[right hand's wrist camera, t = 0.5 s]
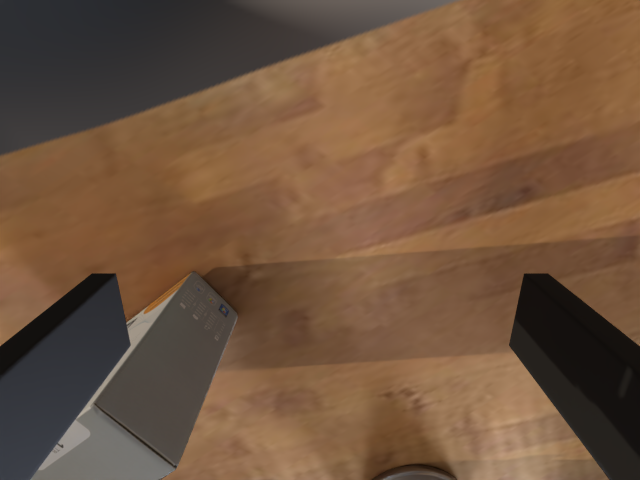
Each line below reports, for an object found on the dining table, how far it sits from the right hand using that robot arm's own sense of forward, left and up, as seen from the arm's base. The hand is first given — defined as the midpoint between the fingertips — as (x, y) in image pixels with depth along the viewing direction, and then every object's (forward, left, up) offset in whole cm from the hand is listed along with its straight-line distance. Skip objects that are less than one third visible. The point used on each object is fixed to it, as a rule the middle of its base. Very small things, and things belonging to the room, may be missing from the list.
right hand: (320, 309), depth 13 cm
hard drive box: (-19, +18, -28) cm, 38 cm away
